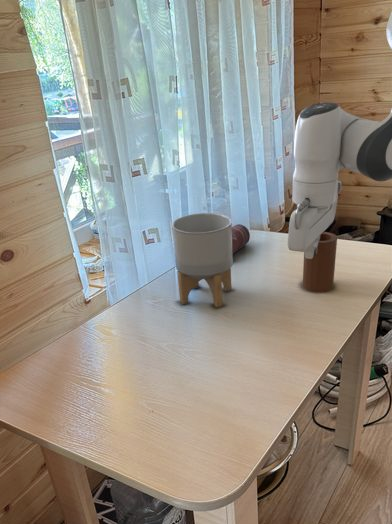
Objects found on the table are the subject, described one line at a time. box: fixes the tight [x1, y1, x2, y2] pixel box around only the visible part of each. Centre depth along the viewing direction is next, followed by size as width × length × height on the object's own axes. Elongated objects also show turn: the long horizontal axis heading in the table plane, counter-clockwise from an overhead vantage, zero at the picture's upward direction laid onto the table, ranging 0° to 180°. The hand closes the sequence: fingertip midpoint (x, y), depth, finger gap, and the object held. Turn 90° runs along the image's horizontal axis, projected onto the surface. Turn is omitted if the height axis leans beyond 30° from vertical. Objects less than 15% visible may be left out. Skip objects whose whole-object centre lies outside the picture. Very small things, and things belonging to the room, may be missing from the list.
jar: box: [302, 231, 338, 293], centre depth 119 cm, size 7×7×12 cm
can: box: [232, 223, 251, 255], centre depth 141 cm, size 6×6×14 cm
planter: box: [171, 212, 234, 308], centre depth 116 cm, size 13×13×18 cm
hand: (310, 256), depth 112 cm, fingers closed
